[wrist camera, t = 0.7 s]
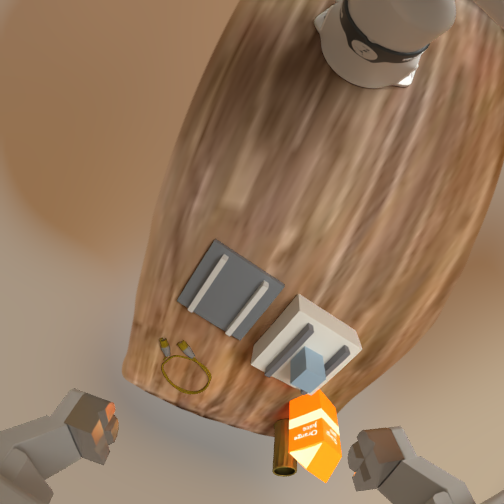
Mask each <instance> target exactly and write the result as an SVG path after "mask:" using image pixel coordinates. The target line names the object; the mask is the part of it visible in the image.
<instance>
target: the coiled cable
mask: <svg viewBox="0 0 504 504" xmlns="http://www.w3.org/2000/svg"><path fill="white" fill-rule="evenodd" d="M160 344H161V350H162V351H163V353H164V354H165V356H166V357H165V358H164V359H163V360H165V359H166V358H167V357H168V356H170V347H169V344H168V343H167V339H166V340H165V341H163V338H161V339H160ZM177 345H178V346H179V348H180V349H181V350H182V351H183V352H184V353H185V354H186V355H187V356H188V357H190V358H188V357H184V356H179V355H174V356H172V357H170V358H169V359H167V360H166V361H165V362H164V363H163V364H162V367H161V368H162V372H163V375H164V376H165V378H166V379H167V381H168V382H169V383H170V384H171V385H172V386H173V387H175V388H176V389H177V390H179V391H181V392H183V393H186V394H198V393H201V392H203V391H204V390H205V389H206V388H207V387H208V386H209V383H210V381H211V374H210V372H209V370H208V369H207V368H206V367H205V366H204V365H202V364H201V363H199V362H198V361H197V360H196V359H195V358H194V356H195V355H194V353H193V351H192V350H191V348H190V347H189V346H188V344H187V343H186V342H185V341H184V340H183V341H181V342H179V343H177ZM173 357H182V358H186V359H189V360H192V361H194V362H196V363H198V364H199V365H200V366H201V367H202V369H203V370H204V371H205V372H206V374H207V375H208V378H209V381H208V383H207V385H206V386H205V387H204V388H203V389H201V390H199V391H187V390H184V389H182V388H179V387H178V386H176V385H174V384H173V383H172V382H171V381H170V380H169V378H168V377H167V375H166V373H165V371H164V369H163V366H164V364H165V363H166V362H167V361H169V360H170V359H171V358H173ZM191 358H193V359H194V360H193V359H191ZM204 368H205V369H206V370H207V371H208V372H207V371H206V370H205V369H204ZM208 373H209V374H208ZM209 375H210V376H209ZM180 389H181V390H180ZM182 390H183V391H182ZM184 391H186V392H184ZM189 392H190V393H189Z"/></svg>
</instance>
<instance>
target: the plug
mask: <svg viewBox="0 0 504 504" xmlns="http://www.w3.org/2000/svg"><path fill="white" fill-rule="evenodd" d="M325 380H326V375H325V368H324V361H323V356H322V355H320V354H318V353H316V352H315V351H313V350H311V349H309V348H308V347H306V346H304V347H303V348H302V349H301V350H300V351H299V352H298V353H297V354H296V355H295V356H294V357H293V358H292V359H291V360H290V384H292V385H294V386H296V387H298V388H300V389H302V390H304V391H306V392H308V393H311V392H312V391H313V390H314V389H316V388H317V387H318V386H319V385H320V384H321V383H322V382H324V381H325Z"/></svg>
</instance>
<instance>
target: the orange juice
mask: <svg viewBox="0 0 504 504" xmlns="http://www.w3.org/2000/svg"><path fill="white" fill-rule="evenodd" d="M339 436H340V435H339V428H338V422H337V415H336V408H335V407H334V406H333V405H332V403H331V402H330V401H329V400H328V399H327V397H326V396H325V395H324V394H323V393H322V391H321V390H320V389H319V390H317V391H316V392H315V393H314V394H313V395H312V396H311V395H308V394H306V395H303V396H301V397H298V398H296V399H293V400H291V401H290V412H289V453H290V454H291V455H292V456H293V457H294V458H295V459H296V460H297V461H298V462H299V463H300V464H301V465H302V466H303V467H304V468H305V469H306V470H308V471H309V472H310V473H312V474H313V475H315V476H316V477H318V478H319V479H321V480H322V481H324V482H325V483H326V482H327V481H328V479H329V477H330V476H331V474H332V472H333V471H334V469H335V467H336V466H337V464H338V462H339V460H340V458H341V457H342V453H341V445H340V437H339Z"/></svg>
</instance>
